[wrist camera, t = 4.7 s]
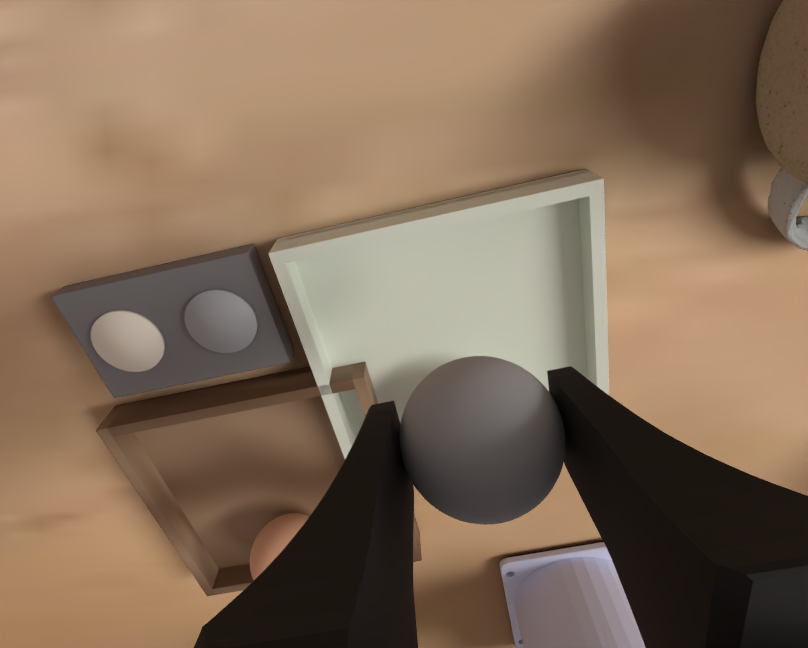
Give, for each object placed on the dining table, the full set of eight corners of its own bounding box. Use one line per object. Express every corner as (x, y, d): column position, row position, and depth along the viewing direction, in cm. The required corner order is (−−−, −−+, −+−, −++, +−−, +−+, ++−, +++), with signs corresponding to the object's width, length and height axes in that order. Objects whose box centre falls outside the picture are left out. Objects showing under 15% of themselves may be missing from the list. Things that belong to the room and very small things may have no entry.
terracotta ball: (344, 541, 27) (338, 613, 23) (275, 553, 27) (258, 626, 24) (323, 489, 25) (312, 560, 21) (249, 503, 25) (226, 575, 22)
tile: (294, 350, 22) (289, 364, 21) (125, 384, 22) (111, 400, 21) (253, 244, 19) (245, 254, 18) (65, 286, 20) (47, 298, 19)
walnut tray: (419, 533, 27) (421, 560, 26) (216, 567, 28) (207, 596, 27) (365, 355, 22) (363, 377, 20) (115, 406, 23) (95, 430, 21)
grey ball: (544, 429, 15) (594, 547, 11) (413, 453, 15) (421, 575, 11) (533, 313, 13) (588, 409, 9) (383, 343, 13) (382, 447, 10)
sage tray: (596, 417, 24) (610, 441, 22) (357, 461, 25) (355, 487, 23) (586, 168, 18) (603, 178, 17) (277, 238, 19) (268, 253, 18)
